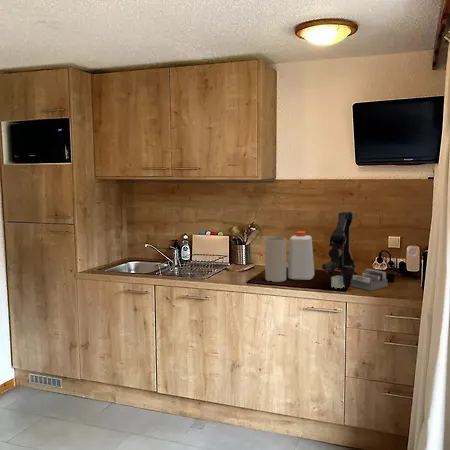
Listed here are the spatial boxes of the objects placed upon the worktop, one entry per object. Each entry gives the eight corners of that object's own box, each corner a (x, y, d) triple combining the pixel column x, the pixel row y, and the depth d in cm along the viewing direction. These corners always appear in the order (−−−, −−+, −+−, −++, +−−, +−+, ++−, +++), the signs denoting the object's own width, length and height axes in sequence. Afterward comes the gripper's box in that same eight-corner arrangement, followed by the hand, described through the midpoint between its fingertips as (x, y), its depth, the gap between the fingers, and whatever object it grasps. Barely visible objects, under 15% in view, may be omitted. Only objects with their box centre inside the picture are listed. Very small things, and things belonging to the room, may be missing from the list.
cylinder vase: (275, 276, 308) (274, 236, 305) (290, 279, 299) (290, 238, 296) (261, 280, 300) (260, 238, 297) (276, 283, 291) (275, 240, 288)
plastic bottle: (286, 279, 300) (286, 233, 296) (290, 274, 314) (290, 229, 311) (312, 280, 295) (311, 233, 292) (315, 275, 310) (315, 230, 306)
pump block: (331, 287, 279) (331, 276, 278) (337, 285, 282) (337, 275, 281) (338, 288, 275) (338, 278, 274) (344, 287, 278) (344, 276, 277)
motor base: (350, 286, 280) (350, 272, 279) (366, 282, 288) (366, 268, 287) (371, 290, 269) (371, 276, 268) (387, 286, 277) (387, 272, 276)
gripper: (315, 255, 279) (315, 282, 281) (341, 260, 264) (341, 288, 266) (329, 252, 286) (329, 279, 288) (355, 257, 271) (354, 285, 273)
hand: (337, 283), depth 278 cm, fingers open, 9 cm apart
